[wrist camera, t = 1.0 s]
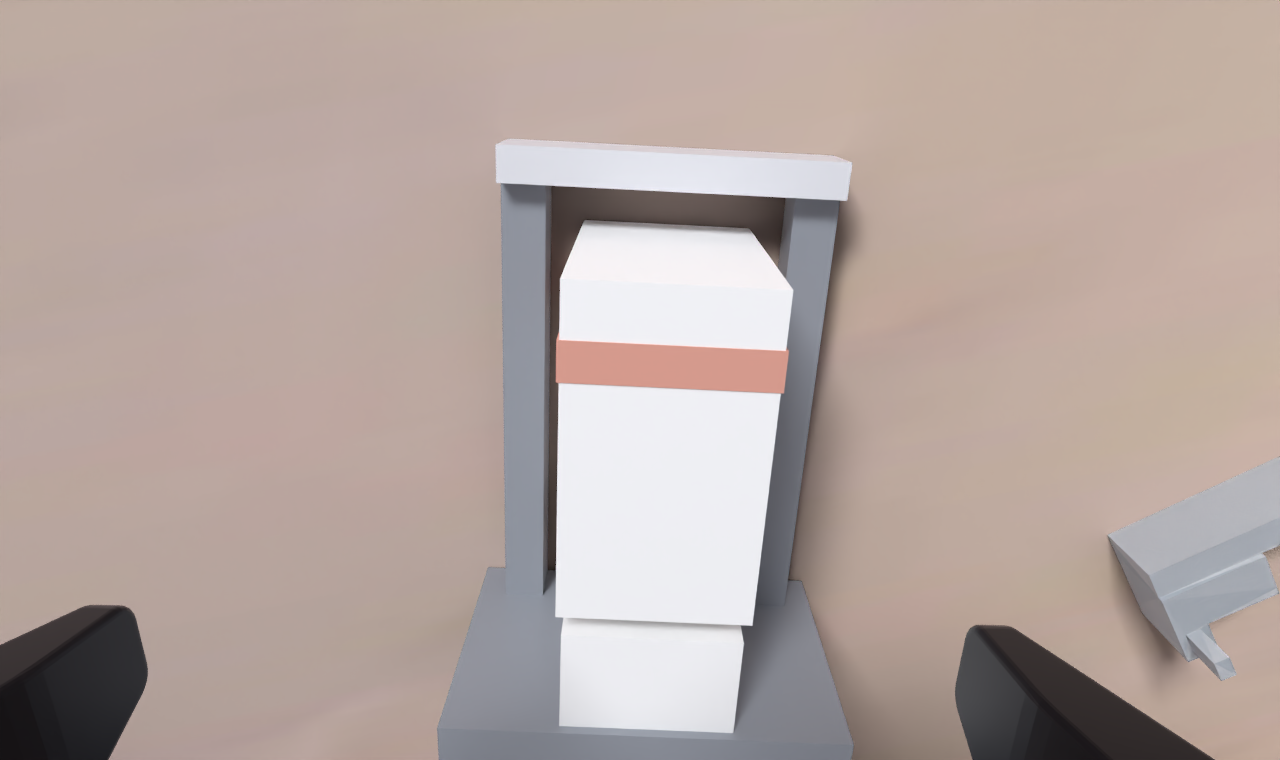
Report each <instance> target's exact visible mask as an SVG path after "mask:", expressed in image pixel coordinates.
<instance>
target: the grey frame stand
mask: <svg viewBox="0 0 1280 760" xmlns="http://www.w3.org/2000/svg"><path fill="white" fill-rule="evenodd" d="M851 169H852V162H849V161H847V160H844V159H841V158H839V157H836V156H833V155H816V154H797V153H777V152H758V151H739V150H720V149H701V148H681V147H662V146H643V145H624V144H605V143H585V142H566V141H547V140H528V139H507V140H504V141H502V142H500V143H497V144H496V183H501V232H502V313H503V394H504V476H505V557H506V568H493V567H488V570H487V573H486V576H485V579H484V582H483V585H482V589H481V592H480V595H479V598H478V601H477V604H476V607H475V611H474V614H473V617H472V620H471V623H470V626H469V630H468V633H467V636H466V639H465V642H464V645H463V649H462V652H461V655H460V658H459V661H458V664H457V667H456V671H455V674H454V677H453V680H452V683H451V686H450V690H449V693H448V696H447V699H446V702H445V705H444V708H443V712H442V715H441V718H440V721H439V724H438V727H437V733H438V752H439V760H851V758H852V753H853V747H854V744H853V741H852V737H851V734H850V731H849V728H848V725H847V722H846V719H845V716H844V712H843V709H842V706H841V703H840V700H839V697H838V694H837V691H836V687H835V684H834V681H833V678H832V675H831V672H830V669H829V665H828V662H827V659H826V656H825V653H824V650H823V647H822V644H821V640H820V637H819V634H818V631H817V628H816V625H815V622H814V619H813V615H812V612H811V609H810V606H809V603H808V600H807V597H806V594H805V590H804V587H803V584H802V581H791V580H788V575H789V568H790V561H791V554H792V546H793V539H794V532H795V524H796V517H797V510H798V503H799V495H800V488H801V481H802V474H803V466H804V459H805V452H806V444H807V437H808V430H809V423H810V415H811V408H812V401H813V394H814V386H815V379H816V372H817V365H818V357H819V350H820V343H821V335H822V328H823V321H824V314H825V306H826V299H827V292H828V285H829V277H830V270H831V263H832V255H833V248H834V241H835V234H836V226H837V219H838V212H839V205H840V200H841V201H847V198H848V191H849V183H850V176H851ZM551 186H568V187H587V188H607V189H626V190H646V191H665V192H685V193H704V194H724V195H744V196H763V197H783V198H786V200H785V209H784V218H783V227H782V235H781V244H780V253H779V262H778V269H779V271H780V272H781V273H782V275H783V276H784V278H785V279H786V280H787V282H788V283H789V285H790V286H791V287H792V289H793V298H792V306H791V314H790V322H789V331H788V339H787V349H788V350H789V356H788V364H787V372H786V380H785V388H784V393H781V396H780V404H779V412H778V420H777V429H776V437H775V445H774V453H773V461H772V469H771V478H770V486H769V494H768V502H767V510H766V518H765V527H764V535H763V543H762V551H761V559H760V567H759V576H758V584H757V592H756V600H755V608H754V616H753V625H752V626H747V625H724V624H701V623H677V622H654V621H631V620H608V619H584V618H561V617H555V607H556V570H548V488H549V387H550V286H551Z"/></svg>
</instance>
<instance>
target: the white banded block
mask: <svg viewBox="0 0 1280 760" xmlns="http://www.w3.org/2000/svg"><path fill="white" fill-rule="evenodd" d="M792 298H793V289H792V287H791V286H790V285H789V283H788V282H787V280H786V279H785V278H784V276H783V275H782V273H781V272H780V271H779V269H778V268H777V266H776V265H775V264H774V262H773V261H772V259H771V258H770V257H769V255H768V254H767V253H766V251H765V250H764V248H763V247H762V246H761V244H760V243H759V241H758V240H757V239H756V237H755V236H754V234H753V233H752V232H751V230H750V229H749V228H733V227H714V226H694V225H674V224H654V223H635V222H615V221H595V220H584V222H583V224H582V227H581V229H580V232H579V234H578V236H577V239H576V241H575V244H574V246H573V249H572V251H571V253H570V256H569V258H568V261H567V263H566V266H565V268H564V270H563V273H562V275H561V278H560V320H559V333H558V336H557V339H556V383H559V392H558V464H557V535H556V607H555V617H561V618H584V619H608V620H631V621H654V622H677V623H701V624H724V625H747V626H752V625H753V616H754V608H755V600H756V592H757V584H758V576H759V567H760V559H761V551H762V543H763V535H764V527H765V518H766V510H767V502H768V494H769V486H770V478H771V469H772V461H773V453H774V445H775V437H776V429H777V420H778V412H779V404H780V396H781V393H784V388H785V380H786V372H787V364H788V356H789V350H788V349H787V339H788V331H789V322H790V314H791V306H792Z"/></svg>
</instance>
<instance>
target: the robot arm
mask: <svg viewBox="0 0 1280 760" xmlns="http://www.w3.org/2000/svg"><path fill="white" fill-rule="evenodd" d="M147 676H148V668H147V662H146V658H145V654H144V650H143V646H142V642H141V638H140V634H139V630H138V625H137V621H136V618H135V615H134V613H133V612H132V611H131V610H130V609H129V608H127V607H125V606H120V605H89V606H84V607H82V608H79V609H77V610H75V611H73V612H71V613H69V614H66V615H64V616H62V617H60V618H58V619H56V620H53V621H51V622H49V623H47V624H45V625H43V626H40V627H38V628H36V629H34V630H32V631H30V632H27V633H25V634H23V635H21V636H19V637H17V638H14V639H12V640H10V641H8V642H6V643H4V644H1V645H0V760H108V759H109V757H110V756H111V754H112V752H113V750H114V748H115V746H116V744H117V742H118V740H119V738H120V736H121V734H122V732H123V730H124V728H125V726H126V724H127V722H128V720H129V719H130V717H131V715H132V713H133V711H134V709H135V707H136V705H137V703H138V701H139V699H140V697H141V695H142V693H143V691H144V688H145V685H146V682H147ZM955 696H956V704H957V709H958V713H959V716H960V719H961V723H962V726H963V729H964V733H965V736H966V739H967V743H968V746H969V749H970V752H971V756H972V759H973V760H1215V759H1213V758H1212V757H1210V756H1208V755H1207V754H1205V753H1204V752H1202V751H1201V750H1199V749H1198V748H1196V747H1195V746H1193V745H1192V744H1190V743H1189V742H1187V741H1186V740H1184V739H1182V738H1181V737H1179V736H1178V735H1176V734H1175V733H1173V732H1172V731H1170V730H1169V729H1167V728H1166V727H1164V726H1163V725H1161V724H1160V723H1158V722H1157V721H1155V720H1153V719H1152V718H1150V717H1149V716H1147V715H1146V714H1144V713H1143V712H1141V711H1140V710H1138V709H1137V708H1135V707H1134V706H1132V705H1131V704H1129V703H1127V702H1126V701H1124V700H1123V699H1121V698H1120V697H1118V696H1117V695H1115V694H1114V693H1112V692H1111V691H1109V690H1108V689H1106V688H1105V687H1103V686H1101V685H1100V684H1098V683H1097V682H1095V681H1094V680H1092V679H1091V678H1089V677H1088V676H1086V675H1085V674H1083V673H1082V672H1080V671H1079V670H1077V669H1076V668H1074V667H1072V666H1071V665H1069V664H1068V663H1066V662H1065V661H1063V660H1062V659H1060V658H1059V657H1057V656H1056V655H1054V654H1053V653H1051V652H1050V651H1048V650H1046V649H1045V648H1043V647H1042V646H1040V645H1039V644H1037V643H1036V642H1034V641H1033V640H1031V639H1030V638H1028V637H1027V636H1025V635H1024V634H1022V633H1021V632H1019V631H1017V630H1016V629H1014V628H1012V627H1009V626H1002V625H975V626H973V627H972V628H970V629H969V631H968V633H967V635H966V638H965V643H964V648H963V652H962V657H961V662H960V667H959V671H958V676H957V681H956V687H955Z"/></svg>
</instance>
